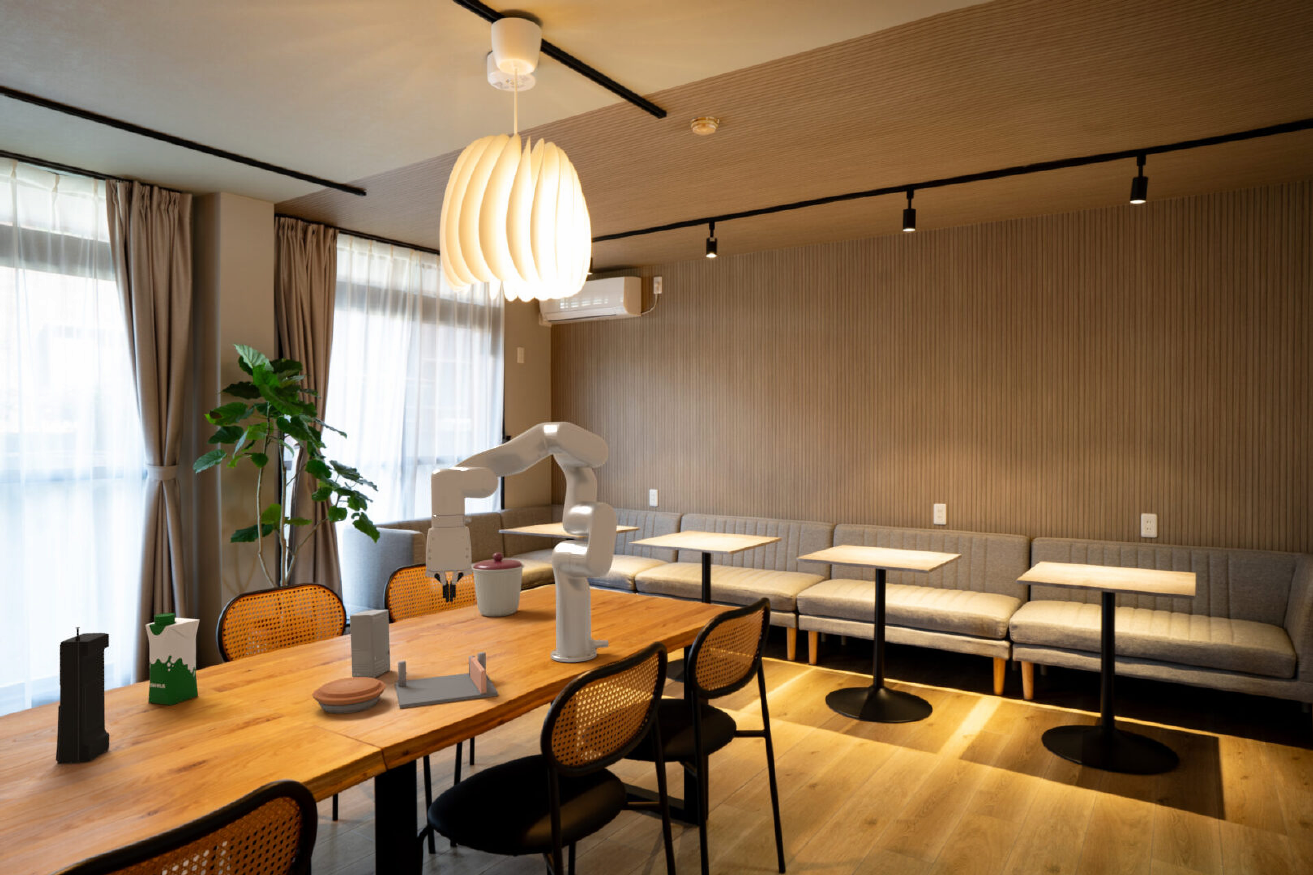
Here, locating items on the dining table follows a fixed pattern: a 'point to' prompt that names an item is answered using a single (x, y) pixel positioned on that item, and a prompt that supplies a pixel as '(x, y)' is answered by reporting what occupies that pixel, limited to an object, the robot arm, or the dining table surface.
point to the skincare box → (370, 643)
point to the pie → (349, 694)
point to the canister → (498, 585)
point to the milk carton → (172, 659)
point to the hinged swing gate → (439, 687)
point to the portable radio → (82, 699)
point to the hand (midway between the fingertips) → (449, 601)
